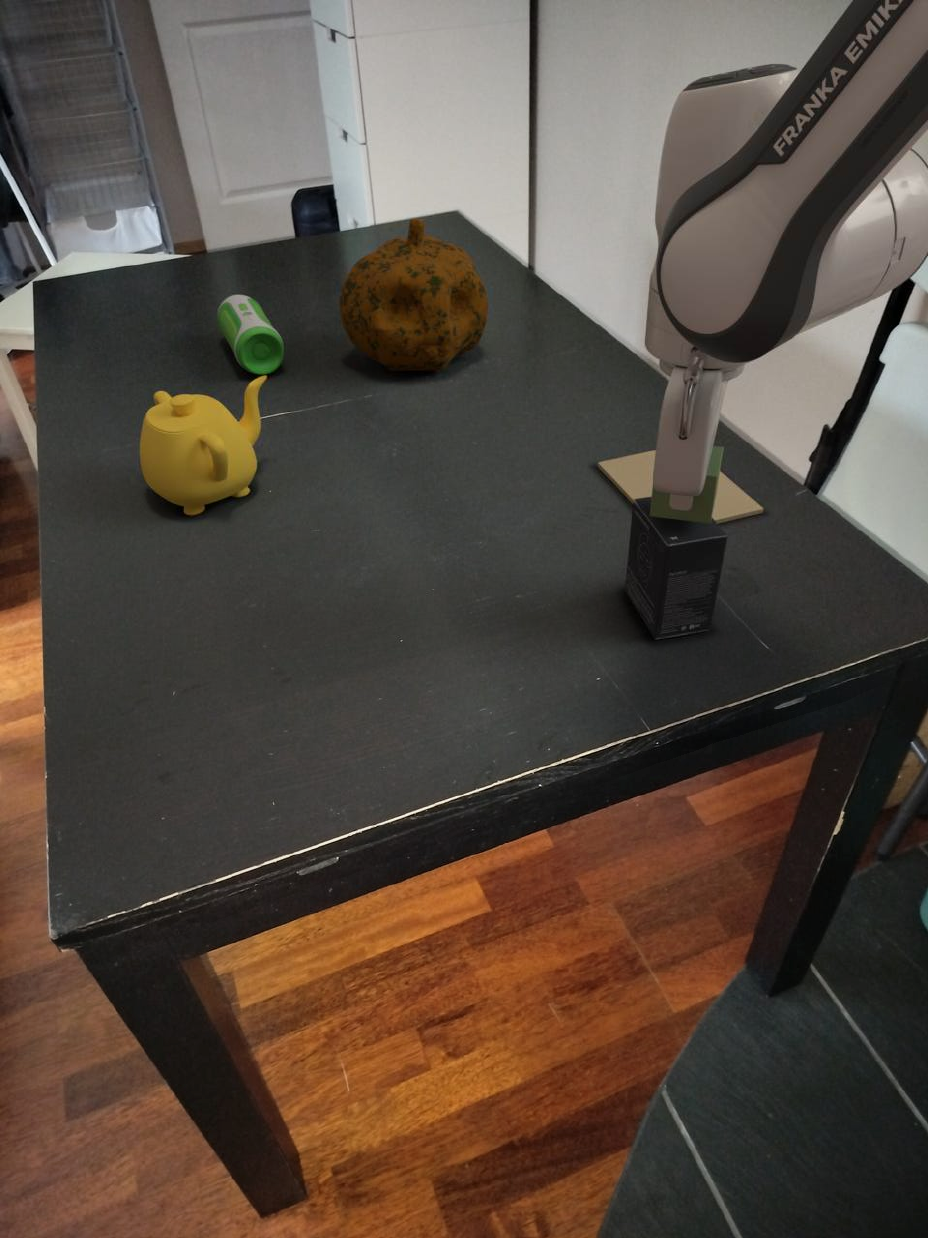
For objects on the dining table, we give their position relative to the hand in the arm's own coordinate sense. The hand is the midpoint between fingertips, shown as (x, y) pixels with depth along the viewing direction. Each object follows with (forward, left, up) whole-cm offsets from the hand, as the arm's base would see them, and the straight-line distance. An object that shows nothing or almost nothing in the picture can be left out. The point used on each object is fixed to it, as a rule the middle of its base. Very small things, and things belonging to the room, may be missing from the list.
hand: (686, 485), depth 72 cm
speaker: (+69, -45, -14) cm, 84 cm away
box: (0, 0, -14) cm, 14 cm away
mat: (+2, -22, -14) cm, 26 cm away
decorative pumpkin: (+44, -50, -14) cm, 68 cm away
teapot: (+54, -10, -14) cm, 57 cm away
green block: (0, 0, -2) cm, 2 cm away
